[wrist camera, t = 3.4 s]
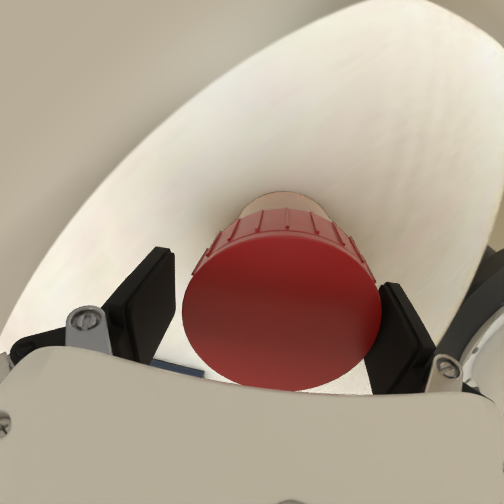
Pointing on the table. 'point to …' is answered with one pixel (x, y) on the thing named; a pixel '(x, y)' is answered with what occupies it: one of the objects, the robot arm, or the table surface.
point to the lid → (282, 302)
